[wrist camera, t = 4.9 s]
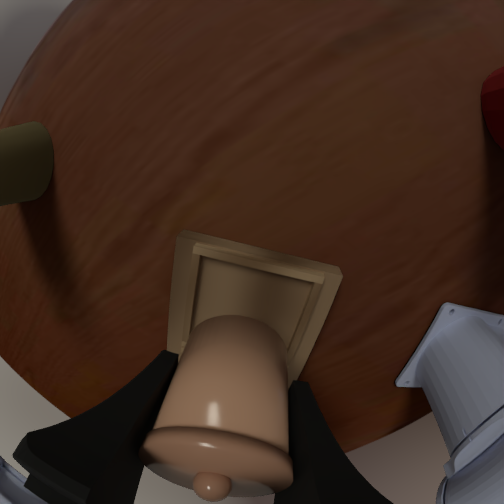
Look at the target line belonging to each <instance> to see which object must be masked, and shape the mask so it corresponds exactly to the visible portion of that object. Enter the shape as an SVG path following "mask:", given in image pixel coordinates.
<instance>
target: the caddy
mask: <svg viewBox="0 0 504 504" xmlns="http://www.w3.org/2000/svg"><path fill="white" fill-rule="evenodd" d="M342 277H343V275H342V273H341V271H340V269H339V267H337V266H333V265H329V264H325V263H321V262H317V261H313V260H309V259H305V258H301V257H296V256H292V255H288V254H284V253H280V252H276V251H272V250H268V249H263V248H259V247H255V246H251V245H247V244H243V243H238V242H234V241H230V240H226V239H222V238H218V237H213V236H209V235H205V234H201V233H197V232H192V231H188V230H183V231H182V232H181V233H180V234H179V235H177V239H176V247H175V255H174V264H173V274H172V284H171V295H170V307H169V321H168V338H167V351H170V352H173V353H176V354H179V357H178V362H179V360H180V357H181V355H182V352H183V350H184V348H185V345H186V343H187V340H188V338H189V335H190V334H191V332H192V330H193V329H194V328H195V327H196V326H197V325H198V324H200V323H201V322H203V321H205V320H207V319H209V318H212V317H216V316H222V315H240V316H246V317H250V318H253V319H256V320H259V321H261V322H263V323H265V324H267V325H268V326H270V327H271V328H272V329H274V330H275V331H276V332H277V333H278V334H279V335H280V336H281V338H282V339H283V341H284V343H285V345H286V348H287V357H288V390H289V388H290V386H291V384H292V382H293V380H297V379H298V377H299V375H300V373H301V371H302V369H303V367H304V365H305V363H306V361H307V359H308V356H309V354H310V352H311V350H312V348H313V346H314V344H315V341H316V339H317V337H318V335H319V333H320V330H321V328H322V326H323V324H324V321H325V319H326V317H327V314H328V312H329V310H330V307H331V305H332V302H333V300H334V297H335V295H336V293H337V290H338V288H339V285H340V282H341V280H342Z"/></svg>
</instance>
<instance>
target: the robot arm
mask: <svg viewBox="0 0 504 504" xmlns="http://www.w3.org/2000/svg"><path fill="white" fill-rule="evenodd" d="M450 310H451V311H450ZM178 357H179V354H176V353H173V352H170V351H167V350H163V351H161V353H160V354H159V355H158V356H157V357H156V358H155V359H154V360H153V361H152V362H151V363H150V364H149V365H148V366H147V367H146V368H145V369H144V370H143V371H142V372H141V373H139V374H138V375H137V376H136V377H135V378H134V379H133V380H131V381H130V382H129V383H128V384H127V385H125V386H124V387H123V388H121V389H120V390H119V391H117V392H116V393H115V394H113V395H112V396H111V397H109V398H108V399H106V400H105V401H103V402H101V403H100V404H98V405H97V406H95V407H93V408H91V409H89V410H88V411H86V412H84V413H82V414H80V415H78V416H76V417H74V418H71V419H69V420H66V421H64V422H61V423H59V424H56V425H53V426H50V427H47V428H43V429H39V430H36V431H32V432H29V433H27V435H26V436H25V437H24V438H23V439H22V440H21V442H20V443H19V445H18V446H17V448H16V450H15V452H14V453H13V458H14V459H15V460H16V461H17V462H18V463H19V464H20V465H21V466H22V467H23V468H24V469H26V470H27V471H28V472H29V473H30V475H29V476H28V478H26V477H25V476H23V475H22V474H21V473H19V472H18V471H17V470H16V469H14V468H13V467H12V466H11V465H9V464H8V463H7V462H6V461H5V460H4V459H3V458H2V457H1V456H0V504H134V500H135V496H136V492H137V489H138V485H139V481H140V478H141V475H142V471H143V468H144V464H143V463H142V462H141V460H140V458H139V455H138V453H139V449H140V447H141V444H142V442H143V439H144V437H145V435H146V434H147V433H148V432H149V431H151V430H152V429H153V426H154V424H155V421H156V418H157V416H158V413H159V411H160V408H161V405H162V403H163V400H164V398H165V395H166V393H167V390H168V388H169V385H170V382H171V380H172V377H173V375H174V372H175V370H176V367H177V365H178ZM395 384H396V386H398V387H422V388H423V390H424V393H425V395H426V397H427V399H428V402H429V404H430V406H431V409H432V411H433V413H434V416H435V418H436V421H437V423H438V426H439V428H440V431H441V433H442V436H443V438H444V441H445V444H446V446H447V449H448V452H449V455H450V457H451V459H450V460H449V461H448V462H447V463H446V464H445V465H444V469H445V473H446V477H445V478H444V479H443V480H442V482H441V483H440V486H439V488H438V492H437V497H436V504H504V315H500V314H496V313H492V312H487V311H483V310H478V309H474V308H470V307H465V306H461V305H457V304H452V303H444V304H443V305H442V306H441V308H440V310H439V312H438V313H437V315H436V317H435V319H434V321H433V323H432V324H431V326H430V328H429V330H428V331H427V333H426V335H425V336H424V338H423V340H422V341H421V343H420V345H419V346H418V348H417V349H416V351H415V353H414V354H413V356H412V357H411V359H410V360H409V362H408V363H407V365H406V366H405V368H404V369H403V371H402V372H401V373H400V375H399V376H398V378H397V379H396V381H395ZM288 417H289V450H288V455H289V456H290V457H291V459H292V461H293V482H292V484H291V485H290V486H289V487H288V488H286V489H285V490H283V491H280V492H277V493H275V498H274V504H393V503H392V502H391V501H389V500H388V499H386V498H385V497H384V496H383V495H381V494H380V493H379V492H378V491H377V490H376V489H375V488H374V487H373V486H372V485H371V484H370V483H369V482H368V481H367V480H366V479H365V478H364V477H363V476H362V475H361V474H360V473H359V472H358V471H357V469H356V468H355V467H354V465H353V464H352V463H351V462H350V460H349V459H348V458H347V456H346V455H345V453H344V452H343V450H342V449H341V447H340V446H339V444H338V443H337V441H336V439H335V438H334V436H333V434H332V432H331V431H330V429H329V427H328V425H327V423H326V421H325V419H324V417H323V415H322V413H321V411H320V409H319V407H318V404H317V402H316V400H315V398H314V395H313V393H312V391H311V388H310V386H309V384H308V382H303V381H297V380H293V382H292V384H291V386H290V388H289V390H288Z"/></svg>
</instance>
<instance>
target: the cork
mask: <svg viewBox="0 0 504 504" xmlns="http://www.w3.org/2000/svg"><path fill="white" fill-rule="evenodd" d="M53 165H54V162H53V146H52V141H51V137H50V135H49V133H48V131H47V129H46V128H45V127H44V126H43V125H42V124H41V123H38V122H34V121H33V122H29V123H24V124H20V125H16V126H12V127H8V128H5V129H1V130H0V206H3V205H8V204H14V203H19V202H25V201H31V200H36V199H37V198H39V197H41V196H42V194H43V193H44V192H45V190H46V189H47V187H48V184H49V182H50V179H51V176H52V170H53Z"/></svg>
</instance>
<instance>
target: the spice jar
mask: <svg viewBox="0 0 504 504" xmlns="http://www.w3.org/2000/svg"><path fill="white" fill-rule="evenodd" d="M288 450H289V417H288V357H287V348H286V345H285V343H284V341H283V339H282V338H281V336H280V335H279V334H278V333H277V332H276V331H275V330H274V329H272V328H271V327H270V326H268V325H267V324H265V323H263V322H261V321H259V320H256V319H253V318H250V317H246V316H240V315H222V316H216V317H212V318H209V319H207V320H205V321H203V322H201V323H200V324H198V325H197V326H196V327H195V328H194V329H193V330H192V332H191V334H190V335H189V338H188V340H187V343H186V345H185V348H184V350H183V352H182V355H181V357H180V360H179V362H178V365H177V367H176V370H175V372H174V375H173V377H172V380H171V382H170V385H169V388H168V390H167V393H166V395H165V398H164V400H163V403H162V405H161V408H160V411H159V413H158V416H157V418H156V421H155V424H154V426H153V429H152V430H151V431H149V432H148V433H147V434H146V435H145V437H144V439H143V442H142V444H141V447H140V449H139V453H138V455H139V458H140V460H141V462H142V463H143V464H144V465H145V466H146V467H147V468H148V469H150V470H151V471H152V472H154V473H155V474H157V475H159V476H160V477H162V478H164V479H166V480H168V481H170V482H172V483H175V484H177V485H180V486H182V487H186V488H188V489H192V490H194V492H195V493H196V494H197V495H198V496H199V497H200V498H202V499H204V500H206V501H211V502H216V501H221V500H223V499H225V498H226V497H227V496H230V497H255V496H264V495H269V494H274V493H277V492H280V491H283V490H285V489H286V488H288V487H289V486H290V485H291V484H292V482H293V461H292V459H291V457H290V456H289V455H288Z"/></svg>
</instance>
